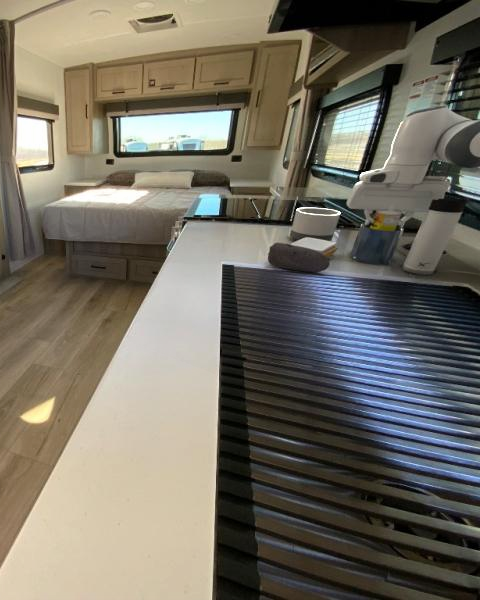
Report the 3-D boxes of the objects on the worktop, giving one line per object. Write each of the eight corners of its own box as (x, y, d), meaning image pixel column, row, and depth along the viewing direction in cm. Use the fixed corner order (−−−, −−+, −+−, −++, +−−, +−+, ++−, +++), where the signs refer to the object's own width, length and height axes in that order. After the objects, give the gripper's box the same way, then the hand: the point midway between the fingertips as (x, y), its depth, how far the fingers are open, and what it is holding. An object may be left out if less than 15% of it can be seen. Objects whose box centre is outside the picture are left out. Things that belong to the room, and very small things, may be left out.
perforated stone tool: (327, 272, 93) (335, 248, 90) (325, 278, 89) (333, 253, 86) (268, 261, 101) (273, 239, 98) (264, 267, 97) (269, 244, 94)
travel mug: (423, 277, 88) (459, 200, 79) (396, 268, 94) (427, 195, 85) (439, 274, 90) (477, 198, 81) (412, 266, 95) (444, 194, 86)
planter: (280, 238, 123) (288, 209, 118) (304, 234, 127) (312, 206, 122) (314, 247, 112) (323, 216, 107) (339, 242, 116) (349, 212, 112)
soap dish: (301, 250, 110) (305, 235, 107) (335, 258, 102) (340, 242, 100) (283, 258, 103) (287, 243, 101) (318, 267, 96) (323, 250, 94)
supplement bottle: (364, 234, 101) (377, 200, 97) (388, 236, 99) (401, 201, 94) (368, 239, 97) (382, 203, 92) (393, 241, 94) (408, 205, 90)
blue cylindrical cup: (384, 256, 103) (397, 224, 98) (394, 266, 95) (409, 232, 91) (346, 252, 107) (357, 221, 102) (353, 262, 99) (365, 229, 95)
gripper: (448, 175, 88) (425, 226, 95) (354, 173, 97) (339, 221, 103) (459, 177, 83) (435, 231, 90) (359, 176, 92) (343, 225, 98)
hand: (383, 225), depth 96 cm, fingers closed on supplement bottle, 5 cm apart
